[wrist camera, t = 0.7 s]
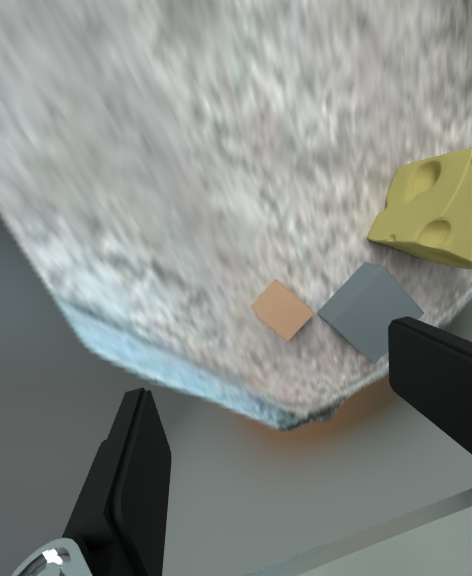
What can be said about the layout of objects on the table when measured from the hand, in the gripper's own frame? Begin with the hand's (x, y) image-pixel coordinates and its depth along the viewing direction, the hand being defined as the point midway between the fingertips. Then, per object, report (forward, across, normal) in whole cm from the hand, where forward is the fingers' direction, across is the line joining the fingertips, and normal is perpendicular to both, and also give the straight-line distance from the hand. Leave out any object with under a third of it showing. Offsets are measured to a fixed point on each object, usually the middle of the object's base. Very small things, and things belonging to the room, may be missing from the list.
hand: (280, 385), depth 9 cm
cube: (+25, -7, +6) cm, 27 cm away
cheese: (+24, -28, -2) cm, 38 cm away
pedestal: (+24, -20, +10) cm, 33 cm away
